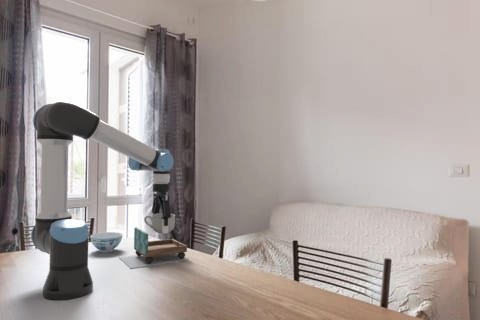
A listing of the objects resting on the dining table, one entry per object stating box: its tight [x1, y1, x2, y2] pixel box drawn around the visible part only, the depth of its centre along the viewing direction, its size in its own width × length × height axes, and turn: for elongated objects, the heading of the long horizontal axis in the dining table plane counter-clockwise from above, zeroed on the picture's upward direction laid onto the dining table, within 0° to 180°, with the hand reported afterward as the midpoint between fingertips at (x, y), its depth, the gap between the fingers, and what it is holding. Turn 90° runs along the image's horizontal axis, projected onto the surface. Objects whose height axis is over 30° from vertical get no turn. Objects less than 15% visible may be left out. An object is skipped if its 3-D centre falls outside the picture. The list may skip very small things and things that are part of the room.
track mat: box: [118, 253, 189, 270], centre depth 160 cm, size 19×26×1 cm
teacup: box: [143, 212, 176, 234], centre depth 162 cm, size 14×11×8 cm
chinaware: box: [89, 231, 123, 253], centre depth 173 cm, size 15×15×8 cm
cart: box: [133, 226, 188, 263], centre depth 161 cm, size 17×19×13 cm
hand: (160, 230), depth 161 cm, fingers closed on teacup, 11 cm apart
